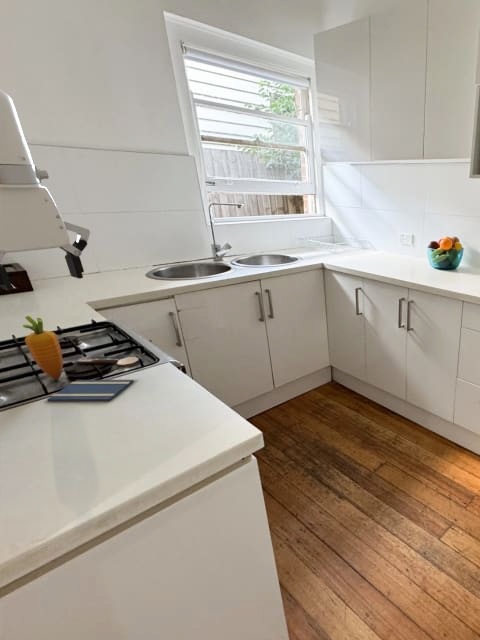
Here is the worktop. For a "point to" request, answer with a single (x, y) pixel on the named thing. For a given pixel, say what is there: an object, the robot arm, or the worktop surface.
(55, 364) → the carrot
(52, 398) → the dish cloth
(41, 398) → the worktop surface
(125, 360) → the wooden spoon
